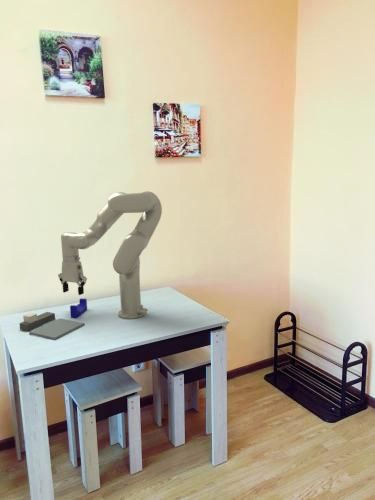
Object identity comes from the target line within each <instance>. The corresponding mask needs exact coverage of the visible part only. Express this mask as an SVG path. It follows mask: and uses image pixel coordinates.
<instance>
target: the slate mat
mask: <svg viewBox="0 0 375 500" xmlns="http://www.w3.org/2000/svg"><path fill="white" fill-rule="evenodd" d="M85 325H86V324H85V322H82V321H76V320H71V319H65V318H61V317H60V318H58V319H55V320H53V321H50V322H48V323H46V324H44V325H42V326H39V327H37V328H35V329H33V330H30V331H28V333H29V334H28V335H31V336H36V337H39V338H45V339H48V340H53V341H56V340H59V339H60V338H62V337H64V336H65V335H68V334H70V333H72V332H74V331H76V330H79V328H82V327H83V326H85Z"/></svg>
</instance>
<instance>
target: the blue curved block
mask: <svg viewBox="0 0 375 500" xmlns="http://www.w3.org/2000/svg"><path fill="white" fill-rule="evenodd" d="M87 300H88V299H87V298H84V297H83V298H82V297H81V298H79V303H78V304H76V305H75V304H73V305H69V312H70V318H71V319H79V317H80V316H82V315H83V314H85V312H87V310H88V301H87Z"/></svg>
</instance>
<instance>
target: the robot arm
mask: <svg viewBox="0 0 375 500" xmlns="http://www.w3.org/2000/svg"><path fill="white" fill-rule="evenodd" d="M107 199H108V200H107V203H106V204H105V205H104V206H103V207H102V208H101V209H100V210H99V211H98V213H97V214H96V215H97V216H96V219H95V221H94V222H93V223H92V224H91V225H90V226H89V228H88V229H86V230H85V231H83V232H80V233H77V232H73V231H68V232H63V233H61V236H60V241H61V242H60V243H61V254H62V255H61V257H62V262H61V273H58V274H57V276H58V279H59V281H60V283H61V285H62V292H63V293H68V292H69V291H70V290H69V283H73V284H74V283H76V284H77V286H78V287H77V293H78V296H81V295H83V294H84V293H85V292H84V291H85V290H84V286H85V285H86V283H87V280H88V278H87V277H86V276H85V275H84V270H83V265H82V261H80V260H81V257H80V255H79V254H80V252H79V250H86V249H89V248H90V247H92V246H95V244H97V242H98V241H100V240H101V239H102V237H104V235H105V234H106V233H107V232H108V231H109V230H110V229H111V228H112V227H113V225H114V224H115V223H116V222H117V221H119V219H120V218H121V217H122V216H123V214H135V213H136V214H137V213H142V214H141V216H140V217H139V219H138V221H137V224H136V226H135V227H134V229H133V230H132V231H131V232H130V233H129V234H127V235H126V236H125V238H124V239H123V241H122V243H121V245H120V246H119V248H118V250H117V252H116V253H115V256H114V258H113V260H112V267H113V270H114V271H115V272H116V273H117V274H118V278H119V279H118V281H119V294H120V297H119V298H120V310H119V311H118V313H117V316H118V317H120V318H121V319H127V320H128V319H129V320H133V319H137V318H141V317H143V316H144V315H147V313H148V308H145V307H144V305H143V304H142V302H141V300H142V299H141V298H142V297H141V283H140V282H141V279H140V278H141V277H140V269H141V266H140V265H141V260H140V259H141V258H140V256H141V255H142V253H143V251H144V250H145V249H146V248H147V246H148V245H149V242H150V240H151V239H152V236H153V235H154V232H155V231H156V229H157V227H158V224H159V223H160V221H161V218H162V214H163V213H162V212H163V207H162V203H161V200H160V199H159V197H158V195H156V194H155V193H154V192H152V191H142V192H135V193H134V192H133V193H127V192H124V191H123V192H122V191H121V192H115V193H113V194H111V196H109V197H108V198H107Z"/></svg>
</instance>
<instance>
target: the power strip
mask: <svg viewBox="0 0 375 500" xmlns="http://www.w3.org/2000/svg"><path fill="white" fill-rule="evenodd" d="M37 314H38V313H34V312H28V313H26V314H23V315H22V317H23V321H21V322H19V330H20V331H25V332H30V331H33V330H35V329H37V328H39V327H41V326H44V325H46V324H48V323H50V322H53V321H55V320H56V314H55V313H54V312H49V311H46V312H44V313H40V314H39V315H37Z"/></svg>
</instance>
